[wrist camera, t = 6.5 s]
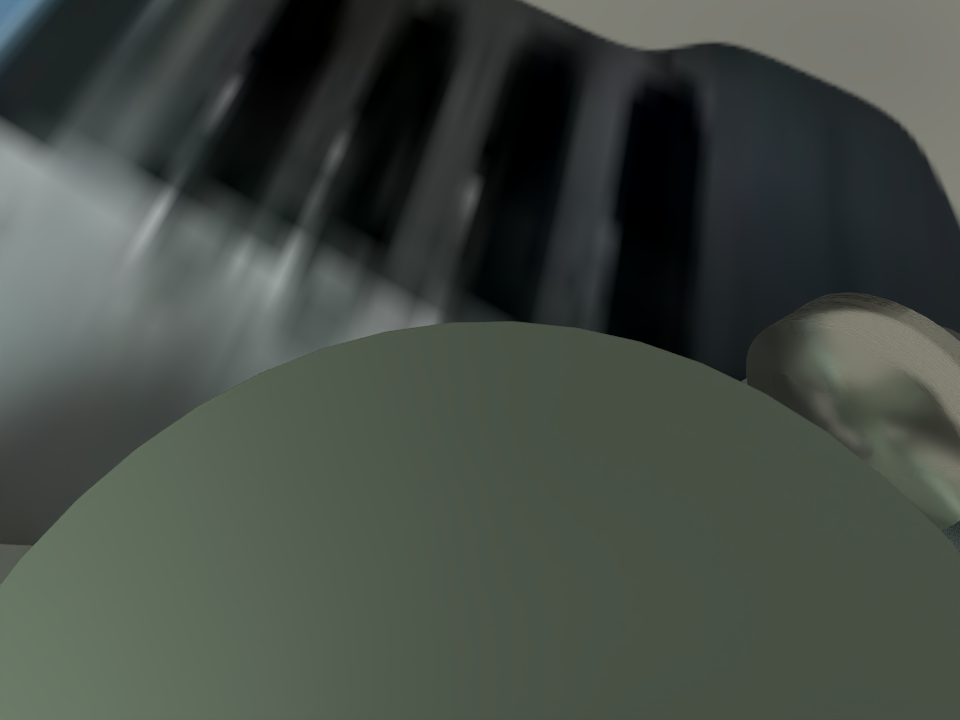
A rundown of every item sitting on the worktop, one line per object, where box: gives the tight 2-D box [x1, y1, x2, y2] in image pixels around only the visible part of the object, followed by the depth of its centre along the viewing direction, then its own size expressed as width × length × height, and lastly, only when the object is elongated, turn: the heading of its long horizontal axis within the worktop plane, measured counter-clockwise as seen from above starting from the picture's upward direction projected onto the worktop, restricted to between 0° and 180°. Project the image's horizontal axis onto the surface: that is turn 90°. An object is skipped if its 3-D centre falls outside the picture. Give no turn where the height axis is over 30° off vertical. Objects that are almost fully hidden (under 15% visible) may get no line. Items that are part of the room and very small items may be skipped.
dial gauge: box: [741, 293, 960, 531], centre depth 15 cm, size 4×5×10 cm
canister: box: [0, 321, 960, 720], centre depth 9 cm, size 6×6×13 cm
